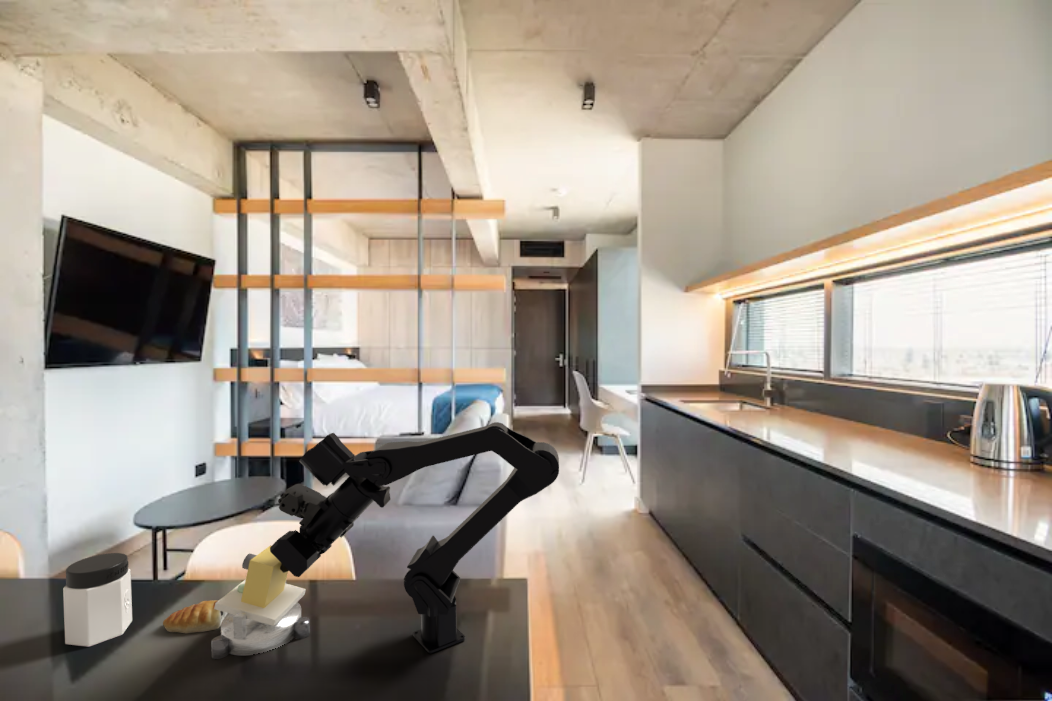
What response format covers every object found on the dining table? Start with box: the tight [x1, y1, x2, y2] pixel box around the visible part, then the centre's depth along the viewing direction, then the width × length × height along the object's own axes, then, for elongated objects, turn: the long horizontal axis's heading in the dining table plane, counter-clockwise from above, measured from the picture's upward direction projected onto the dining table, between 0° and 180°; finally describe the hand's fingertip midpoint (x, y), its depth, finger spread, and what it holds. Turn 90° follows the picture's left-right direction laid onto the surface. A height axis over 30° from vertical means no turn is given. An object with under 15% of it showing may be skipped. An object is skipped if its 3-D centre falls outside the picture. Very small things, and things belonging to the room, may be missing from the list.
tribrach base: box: [210, 581, 311, 660], centre depth 88 cm, size 14×14×6 cm
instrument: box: [214, 545, 306, 626], centre depth 88 cm, size 10×11×8 cm
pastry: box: [162, 599, 229, 634], centre depth 92 cm, size 9×7×4 cm
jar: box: [62, 552, 133, 647], centre depth 89 cm, size 9×8×12 cm
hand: (282, 569), depth 88 cm, fingers closed, pressing on instrument
